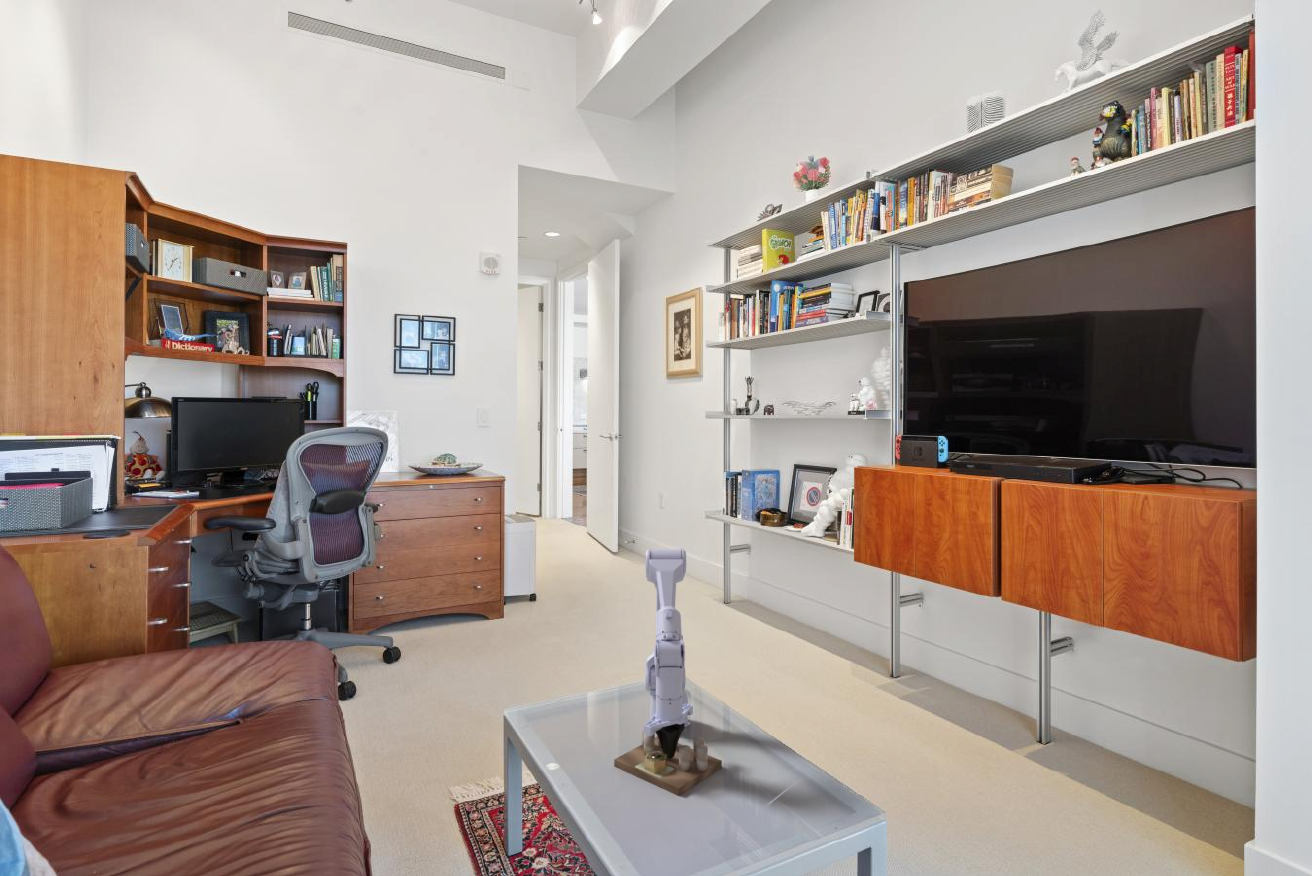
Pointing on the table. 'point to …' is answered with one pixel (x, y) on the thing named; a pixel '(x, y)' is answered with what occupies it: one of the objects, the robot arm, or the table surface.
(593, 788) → the table surface
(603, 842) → the table surface
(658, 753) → the nut
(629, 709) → the table surface
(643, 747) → the board
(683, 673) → the robot arm
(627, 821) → the table surface
